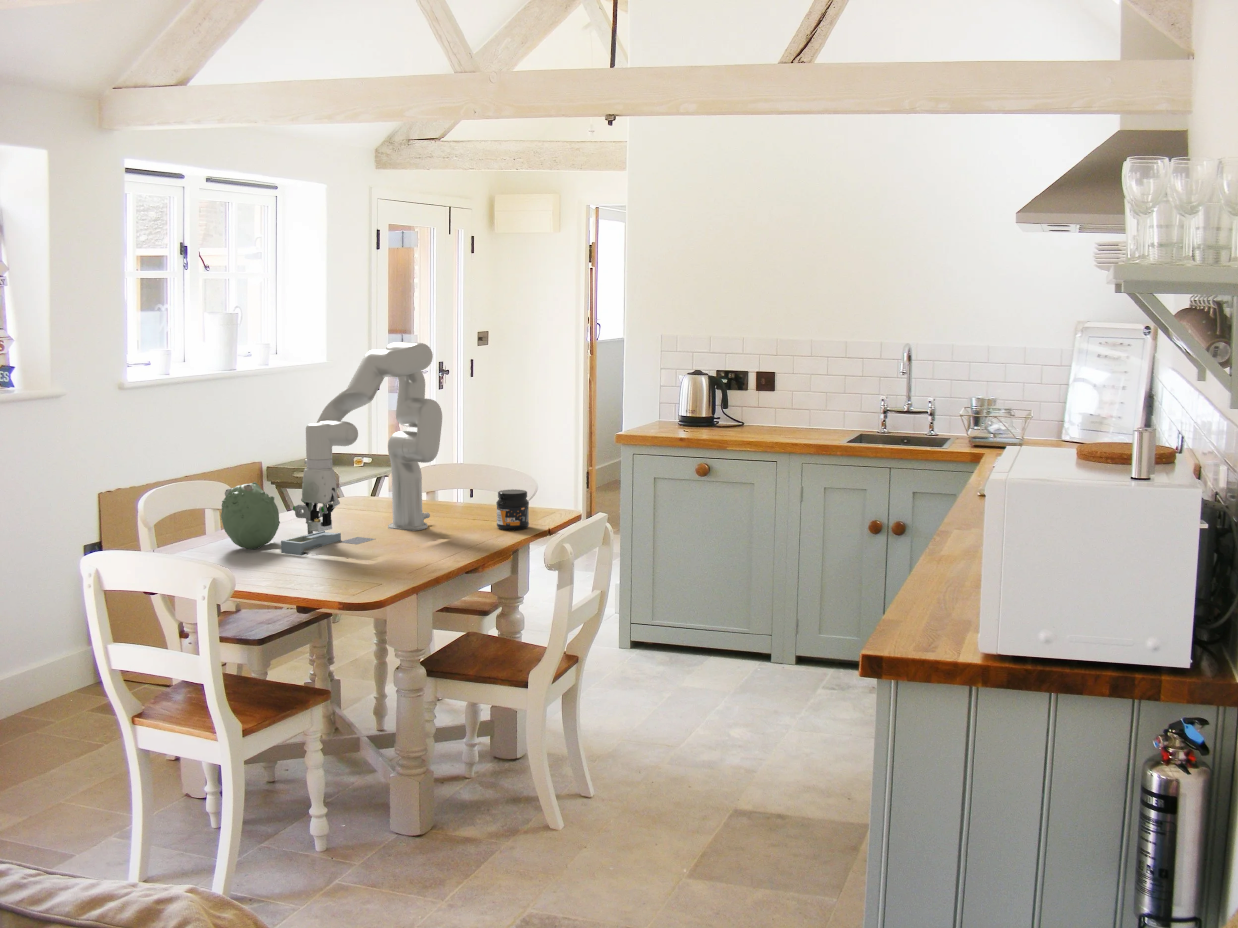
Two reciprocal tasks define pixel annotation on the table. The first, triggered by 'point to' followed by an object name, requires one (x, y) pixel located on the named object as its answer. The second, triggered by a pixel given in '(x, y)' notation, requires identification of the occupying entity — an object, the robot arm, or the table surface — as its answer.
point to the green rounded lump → (249, 516)
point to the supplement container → (512, 510)
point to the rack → (308, 542)
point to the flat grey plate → (357, 540)
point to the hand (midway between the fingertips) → (320, 524)
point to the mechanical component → (305, 513)
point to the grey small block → (318, 525)
